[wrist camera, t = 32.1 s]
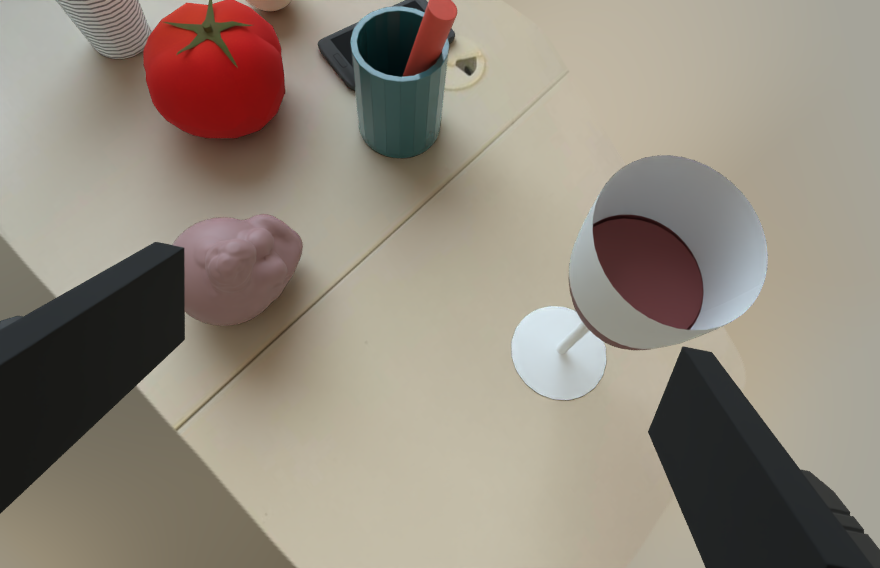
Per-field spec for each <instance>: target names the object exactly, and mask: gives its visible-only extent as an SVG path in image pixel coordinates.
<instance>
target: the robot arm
mask: <svg viewBox="0 0 880 568" xmlns="http://www.w3.org/2000/svg"><path fill="white" fill-rule="evenodd" d="M184 340H185V252H184V247H179V246H174V245H169V244H164V243H159V242H154V243H153V244H151V245H149V246H147V247H146V248H144V249H142V250H140V251H139V252H137V253H135V254H133V255H131V256H130V257H128V258H126V259H124V260H123V261H121V262H119V263H117V264H116V265H114V266H112V267H110V268H108V269H107V270H105V271H103V272H101V273H100V274H98V275H96V276H94V277H93V278H91V279H89V280H87V281H85V282H84V283H82V284H80V285H78V286H77V287H75V288H73V289H71V290H70V291H68V292H66V293H64V294H63V295H61V296H59V297H57V298H55V299H54V300H52V301H50V302H49V303H47V304H45V305H43V306H42V307H40V308H38V309H36V310H34V311H33V312H31V313H29V314H28V315H25V316H24V317H23V316H15V317H12V318H9V319H5V320H2V321H0V513H1V512H3V510H5V509H6V508H7V507H8V506H9V505H10V504H11V503H12V502H13V501H14V500H15V499H16V498H17V497H18V496H20V495H21V494H22V493H23V492H24V491H25V490H26V489H27V488H28V487H29V486H30V485H31V484H32V483H33V482H34V481H35V480H36V479H37V478H39V477H40V476H41V475H42V474H43V473H44V472H45V471H46V470H47V469H48V468H49V467H50V466H51V465H52V464H53V463H54V462H56V461H57V460H58V458H60V457H61V456H62V455H63V454H64V453H65V452H66V451H67V450H68V449H69V448H70V447H71V446H73V444H75V443H76V442H77V441H78V440H79V439H80V438H81V437H82V436H83V435H84V434H85V433H86V432H87V431H88V430H89V429H90V428H92V427H93V426H94V425H95V424H96V423H97V422H98V421H99V420H100V419H101V418H102V417H103V416H104V415H105V414H106V413H107V412H109V411H110V410H111V409H112V408H113V407H114V406H115V405H116V404H117V403H118V402H119V401H120V400H121V399H122V398H123V397H124V396H125V395H126V394H128V393H129V392H130V391H131V390H132V389H133V388H134V387H135V386H136V385H137V384H138V383H139V382H140V381H141V380H142V379H144V378H145V377H146V376H147V375H148V374H149V373H150V372H151V371H152V370H153V369H154V368H155V367H156V366H157V365H158V364H159V363H161V362H162V361H163V360H164V359H165V358H166V357H167V356H168V355H169V354H170V353H171V352H172V351H173V350H174V349H175V348H176V347H177V346H179V345H180V344H181V343H182V342H183V341H184ZM648 433H649V435H650V438H651V440H652V442H653V445H654V447H655V449H656V452H657V454H658V456H659V459H660V461H661V464H662V466H663V468H664V471H665V473H666V475H667V478H668V480H669V482H670V485H671V487H672V489H673V492H674V494H675V496H676V499H677V501H678V503H679V506H680V508H681V511H682V513H683V515H684V518H685V520H686V522H687V525H688V526H689V529H690V532H691V534H692V536H693V539H694V541H695V544H696V546H697V548H698V551H699V553H700V555H701V558H702V560H703V562H704V565H705V567H706V568H880V549H879V548H878V547H877V546H876V544H875V543H874V542H873V541H872V539H871V538H870V537H869V536H868V534H864V529H863V528H862V527H861V526H860V524H859V523H858V522H857V520H856V519H855V518H854V517H853V516H850V511H849V510H848V509H847V508H846V506H845V505H844V504H843V503H842V501H841V500H840V499H839V498H838V496H837V495H836V494H835V493H834V491H832V490H831V489H830V488H829V487H828V486H826V485H825V484H824V483H823V482H822V481H820V480H819V479H818V478H817V477H815V476H814V475H813V474H812V473H811V472H810V471H805V470H800V469H799V467H798V466H797V465H796V464H795V462H794V461H793V459H792V458H791V457H790V455H789V454H788V453H787V452H786V450H785V449H784V447H783V446H782V445H781V444H780V443H779V441H778V440H777V438H776V437H775V436H774V434H773V433H772V432H771V430H770V429H769V428H768V426H767V425H766V424H765V422H764V421H763V420H762V418H761V417H760V416H759V414H758V413H757V412H756V410H755V409H754V408H753V406H752V405H751V404H750V402H749V401H748V400H747V398H746V397H745V396H744V394H743V393H742V392H741V390H740V389H739V388H738V386H737V385H736V384H735V382H734V381H733V380H732V378H731V377H730V376H729V374H728V373H727V372H726V370H725V369H724V368H723V366H722V365H721V364H720V362H719V361H718V360H717V358H716V357H715V356H714V354H713V353H712V352H708V351H703V350H698V349H693V348H688V347H682V349H681V352H680V354H679V357H678V359H677V362H676V364H675V367H674V369H673V372H672V374H671V377H670V379H669V382H668V384H667V387H666V389H665V391H664V394H663V396H662V399H661V401H660V404H659V406H658V409H657V411H656V414H655V416H654V419H653V421H652V424H651V426H650V428H649V431H648Z"/></svg>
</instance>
